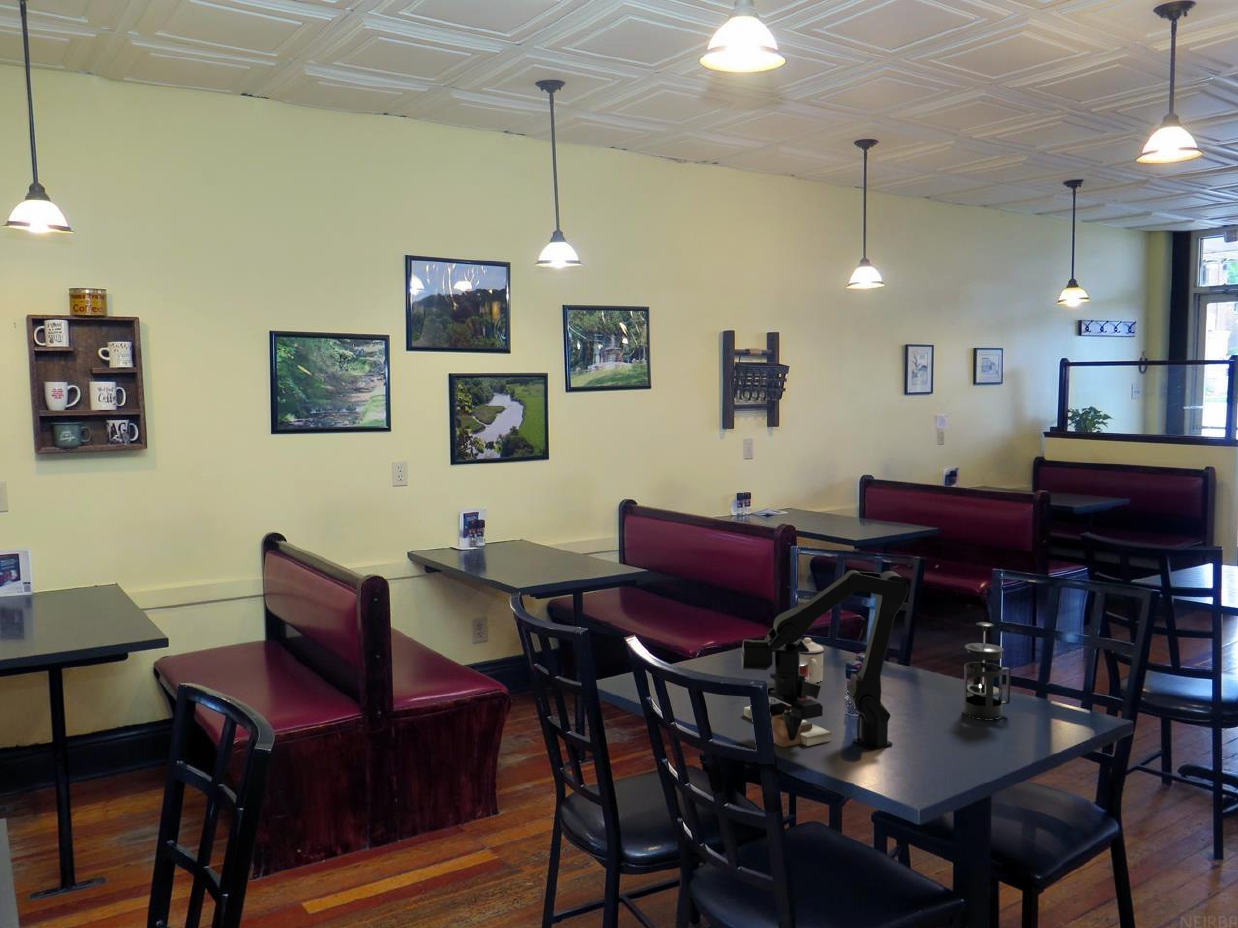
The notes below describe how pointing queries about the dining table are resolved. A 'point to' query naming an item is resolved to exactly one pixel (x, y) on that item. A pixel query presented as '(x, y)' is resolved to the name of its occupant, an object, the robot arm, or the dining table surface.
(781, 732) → the marking gauge
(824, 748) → the dining table surface
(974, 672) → the french press
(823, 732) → the maple board
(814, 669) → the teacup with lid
